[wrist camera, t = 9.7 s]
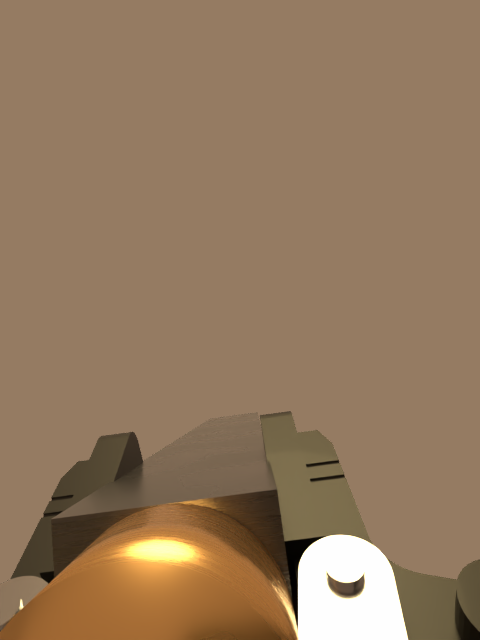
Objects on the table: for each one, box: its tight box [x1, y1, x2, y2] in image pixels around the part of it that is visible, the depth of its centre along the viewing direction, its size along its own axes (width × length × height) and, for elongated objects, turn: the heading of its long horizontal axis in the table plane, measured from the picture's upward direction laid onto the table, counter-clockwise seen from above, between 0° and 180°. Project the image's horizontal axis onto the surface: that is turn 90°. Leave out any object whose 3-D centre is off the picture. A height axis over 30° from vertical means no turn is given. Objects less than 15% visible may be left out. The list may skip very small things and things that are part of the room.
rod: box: [0, 413, 299, 640], centre depth 15 cm, size 3×24×3 cm, turn 178°
